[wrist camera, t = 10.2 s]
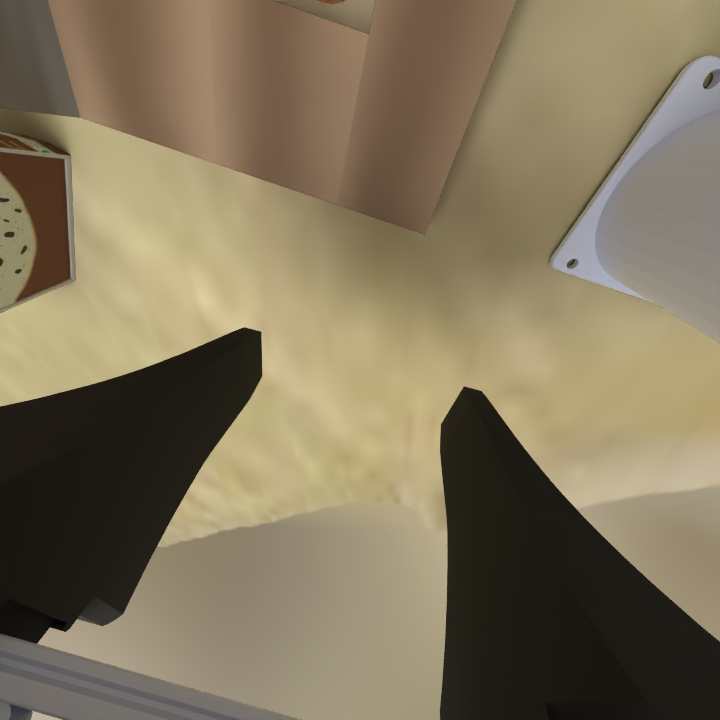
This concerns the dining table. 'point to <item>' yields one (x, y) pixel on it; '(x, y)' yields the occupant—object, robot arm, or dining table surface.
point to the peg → (330, 1)
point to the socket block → (268, 87)
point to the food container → (34, 219)
